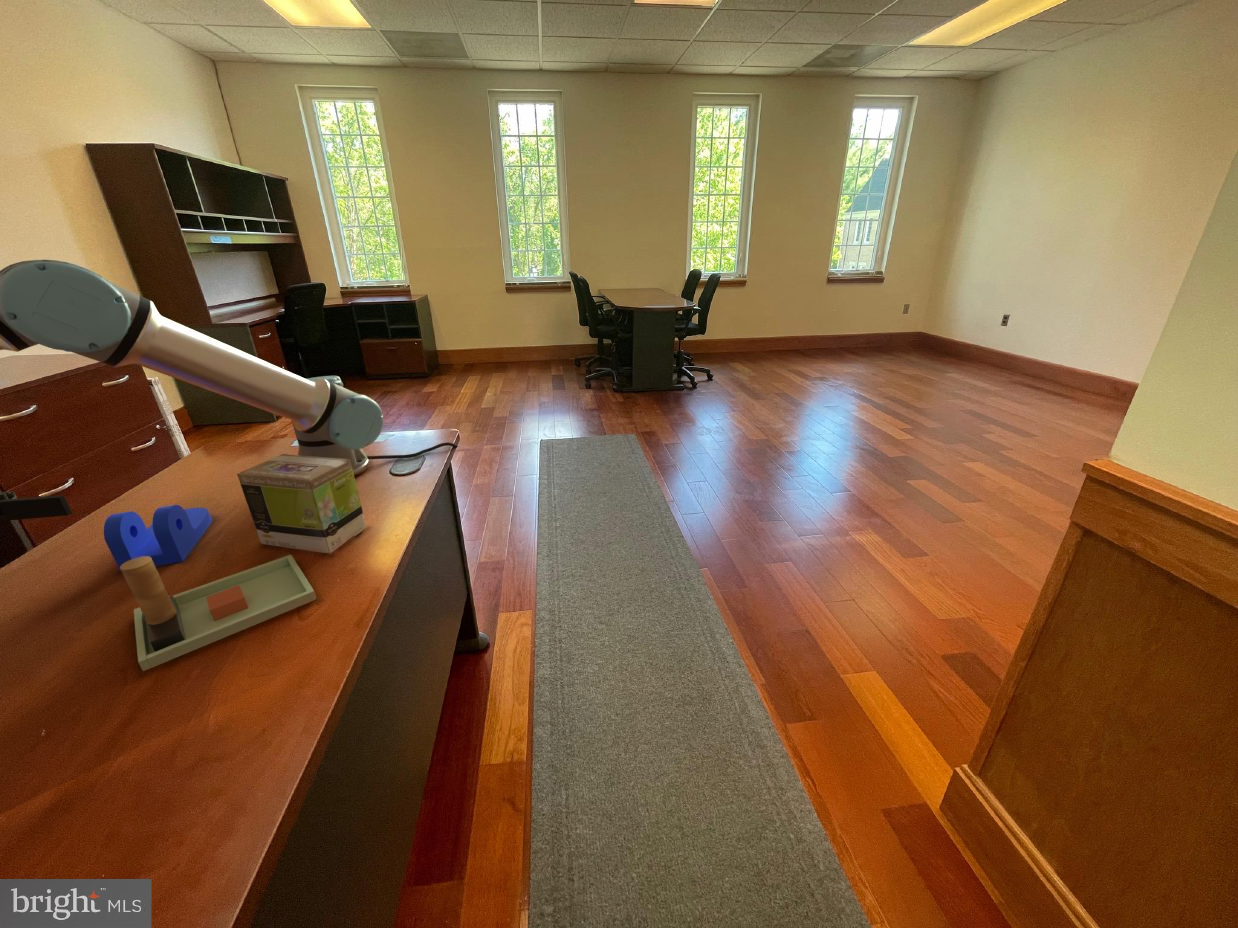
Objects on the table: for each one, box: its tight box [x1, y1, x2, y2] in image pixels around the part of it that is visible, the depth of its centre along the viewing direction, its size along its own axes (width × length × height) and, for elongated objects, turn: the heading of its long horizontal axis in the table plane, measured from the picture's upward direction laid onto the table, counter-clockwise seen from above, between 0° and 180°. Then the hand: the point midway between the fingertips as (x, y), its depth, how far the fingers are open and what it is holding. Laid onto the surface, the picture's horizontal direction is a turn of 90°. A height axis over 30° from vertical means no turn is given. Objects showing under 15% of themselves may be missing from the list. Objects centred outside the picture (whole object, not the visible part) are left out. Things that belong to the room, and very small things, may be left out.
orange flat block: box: [206, 585, 248, 621], centre depth 70 cm, size 4×4×2 cm
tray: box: [133, 554, 317, 672], centre depth 70 cm, size 20×14×2 cm
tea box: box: [236, 453, 367, 554], centre depth 87 cm, size 15×10×15 cm, turn 78°
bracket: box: [103, 504, 213, 574], centre depth 86 cm, size 18×8×9 cm, turn 22°
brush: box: [119, 556, 186, 652], centre depth 64 cm, size 3×10×12 cm, turn 45°
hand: (20, 531), depth 57 cm, fingers open, 13 cm apart
